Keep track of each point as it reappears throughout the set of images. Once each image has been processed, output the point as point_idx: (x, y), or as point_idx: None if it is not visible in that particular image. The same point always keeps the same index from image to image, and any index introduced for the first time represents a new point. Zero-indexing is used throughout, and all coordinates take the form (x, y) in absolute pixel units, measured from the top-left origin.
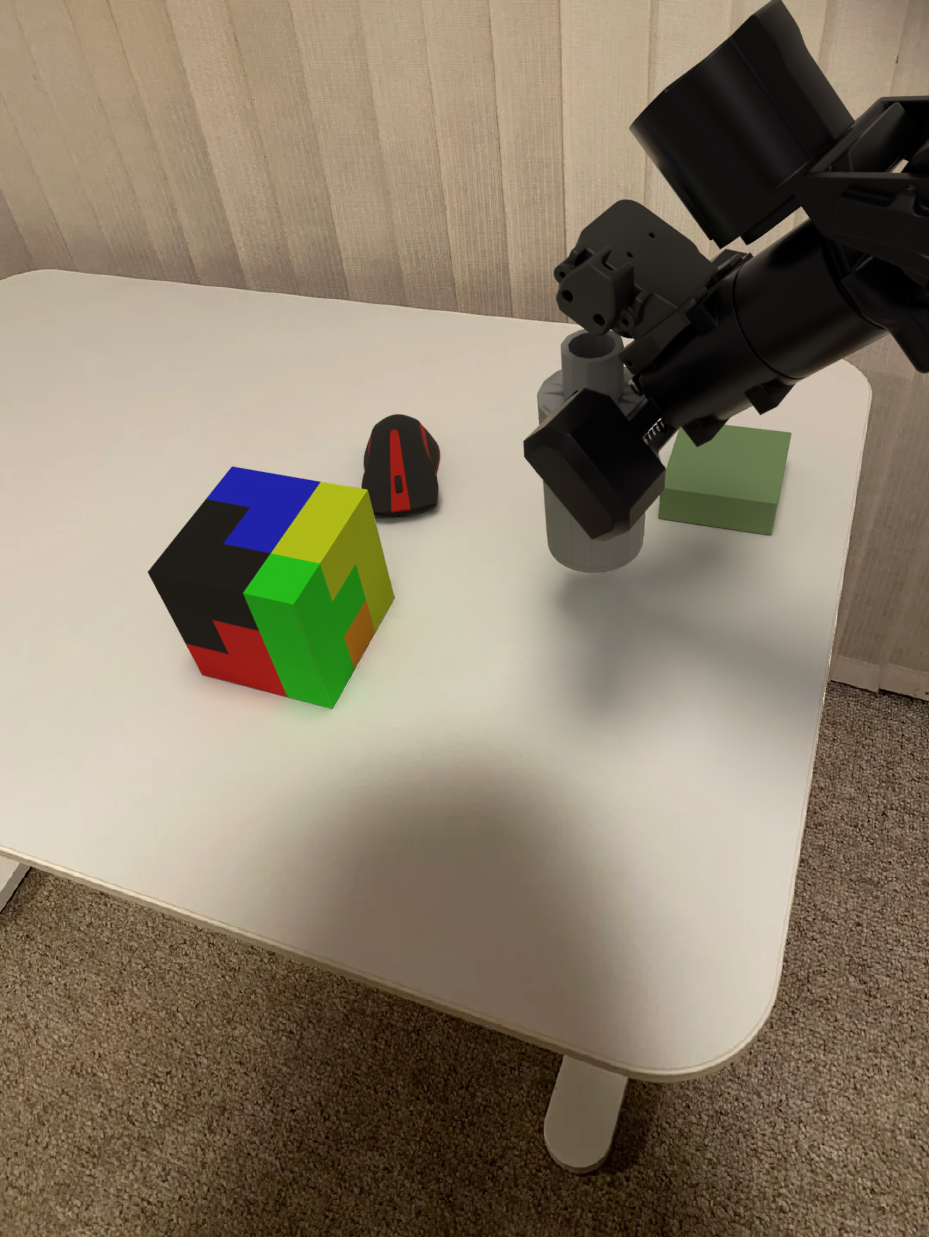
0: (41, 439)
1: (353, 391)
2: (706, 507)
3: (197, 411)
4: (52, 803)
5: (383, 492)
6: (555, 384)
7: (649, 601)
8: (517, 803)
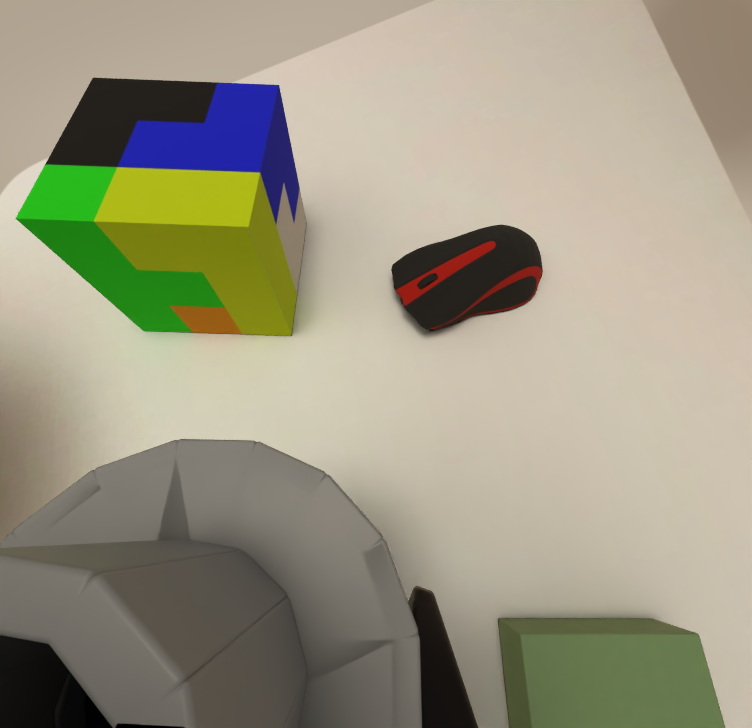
0: (419, 24)
1: (577, 197)
2: (520, 718)
3: (492, 97)
4: None
5: (414, 271)
6: (238, 492)
7: None
8: None
